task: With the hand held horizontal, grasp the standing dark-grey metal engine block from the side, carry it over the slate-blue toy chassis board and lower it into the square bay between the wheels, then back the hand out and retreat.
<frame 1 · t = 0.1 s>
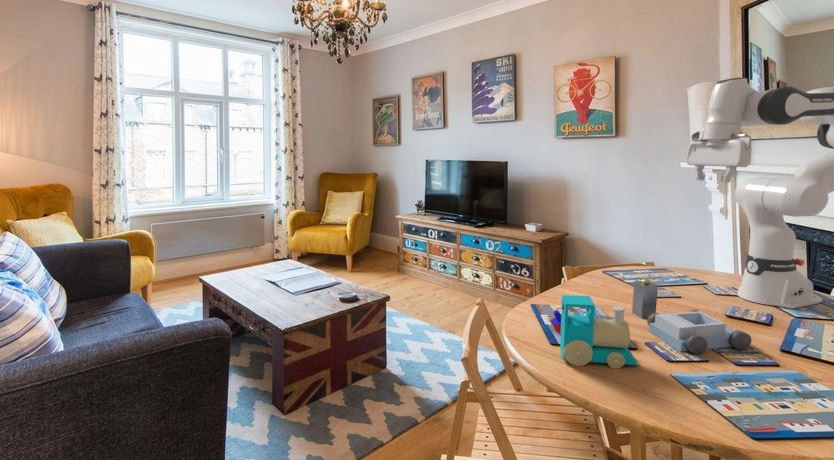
hand: (712, 181, 130), 39 cm above the table, tool pointing down, fingers open, 8 cm apart
toy train: (597, 360, 104), on the table
engine block: (643, 314, 130), on the table
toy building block: (562, 333, 119), on the table
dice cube: (606, 337, 116), on the table
chassis: (695, 338, 114), on the table
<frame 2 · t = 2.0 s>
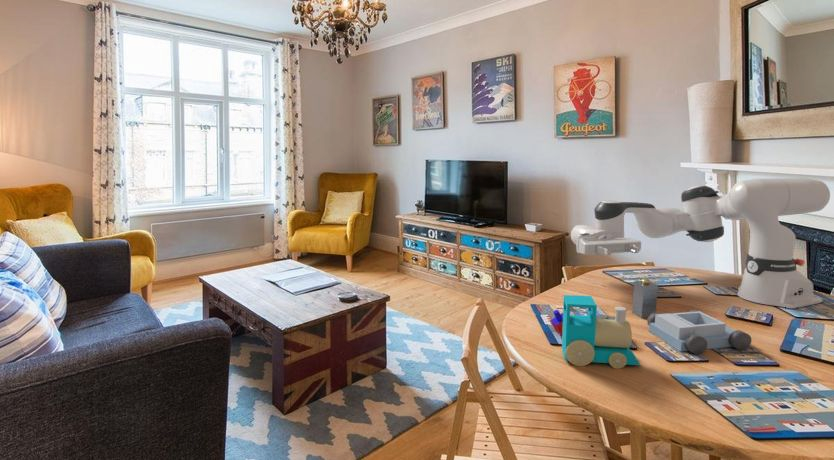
hand: (622, 251, 139), 17 cm above the table, tool horizontal, fingers open, 8 cm apart
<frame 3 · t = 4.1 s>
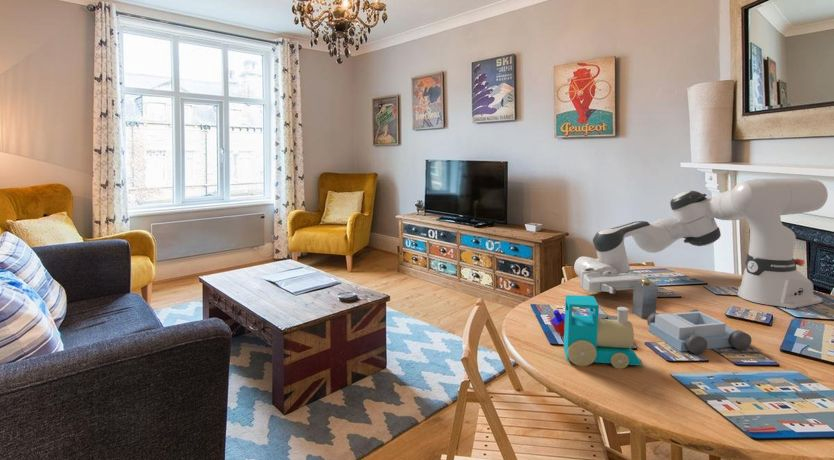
hand: (628, 290, 136), 5 cm above the table, tool horizontal, fingers open, 8 cm apart
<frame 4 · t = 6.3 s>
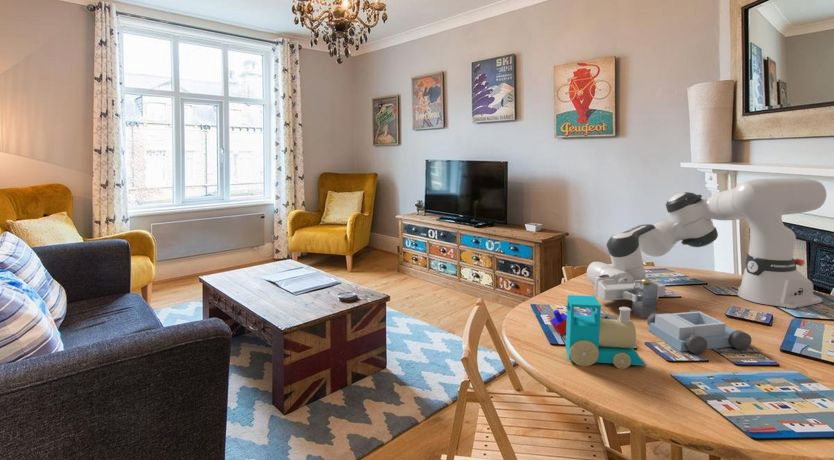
hand: (646, 298, 128), 6 cm above the table, tool horizontal, fingers closed on engine block, 4 cm apart
engine block: (643, 314, 130), on the table, touching gripper
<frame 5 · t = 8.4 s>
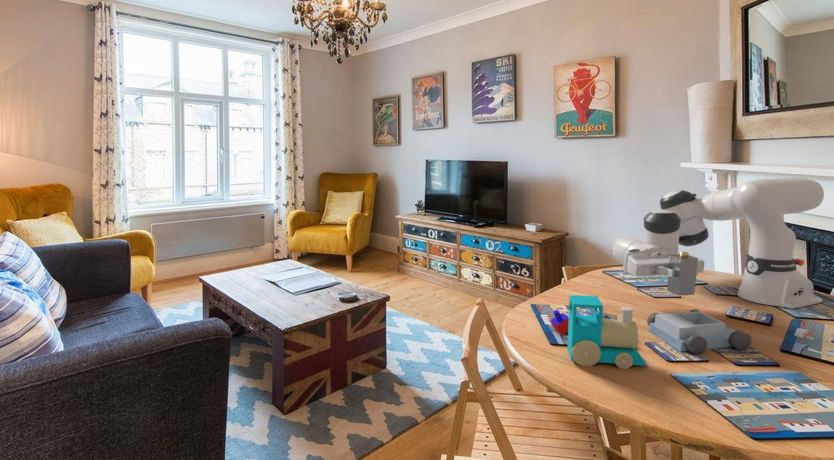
hand: (684, 273, 114), 17 cm above the table, tool horizontal, fingers closed on engine block, 4 cm apart
engine block: (680, 292, 116), point 11 cm above the table, touching gripper
when the fingers open (9 cm above the table, at t = 10.6 s): engine block drops 1 cm, resting on chassis.
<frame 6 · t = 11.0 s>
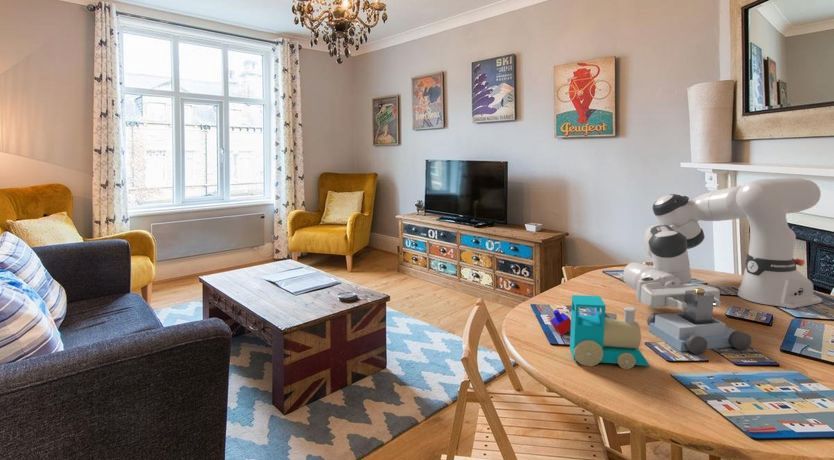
hand: (701, 305, 111), 9 cm above the table, tool horizontal, fingers open, 8 cm apart
engine block: (696, 329, 113), point 2 cm above the table, touching chassis
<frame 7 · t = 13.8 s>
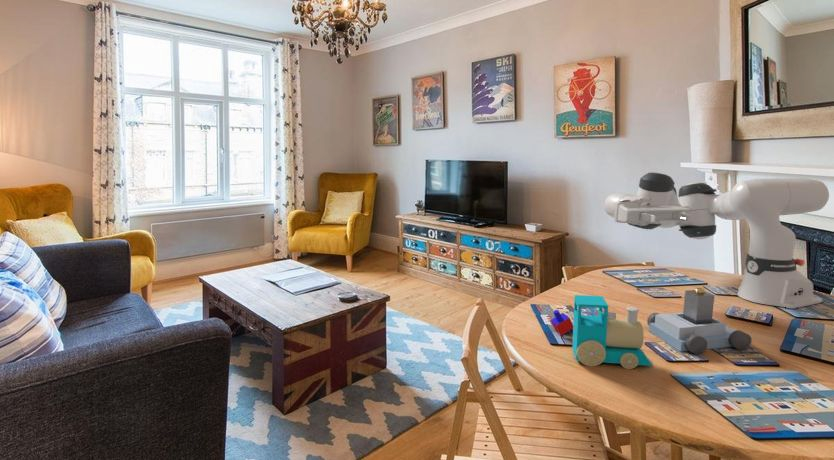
hand: (672, 218, 120), 30 cm above the table, tool horizontal, fingers open, 8 cm apart
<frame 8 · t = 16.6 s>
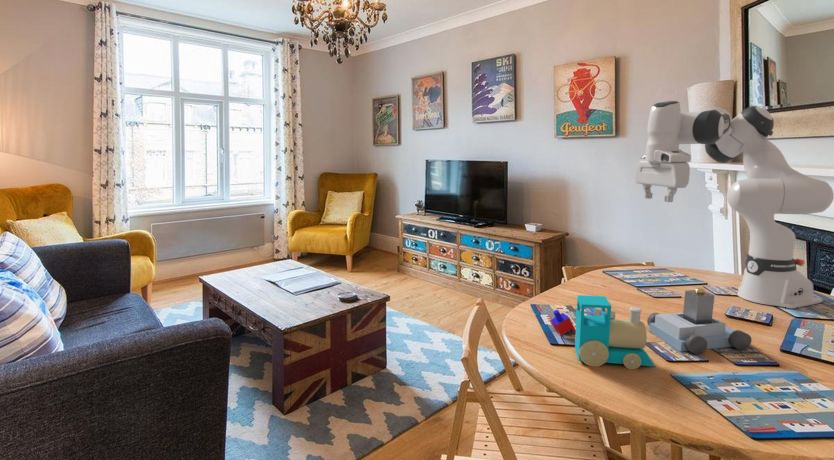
hand: (658, 200, 135), 33 cm above the table, tool pointing down, fingers open, 8 cm apart
at the end: engine block 0.1 cm off-centre on the chassis, point 2.5 cm above the chassis's base; engine block tilted 0°; the gripper is holding nothing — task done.
